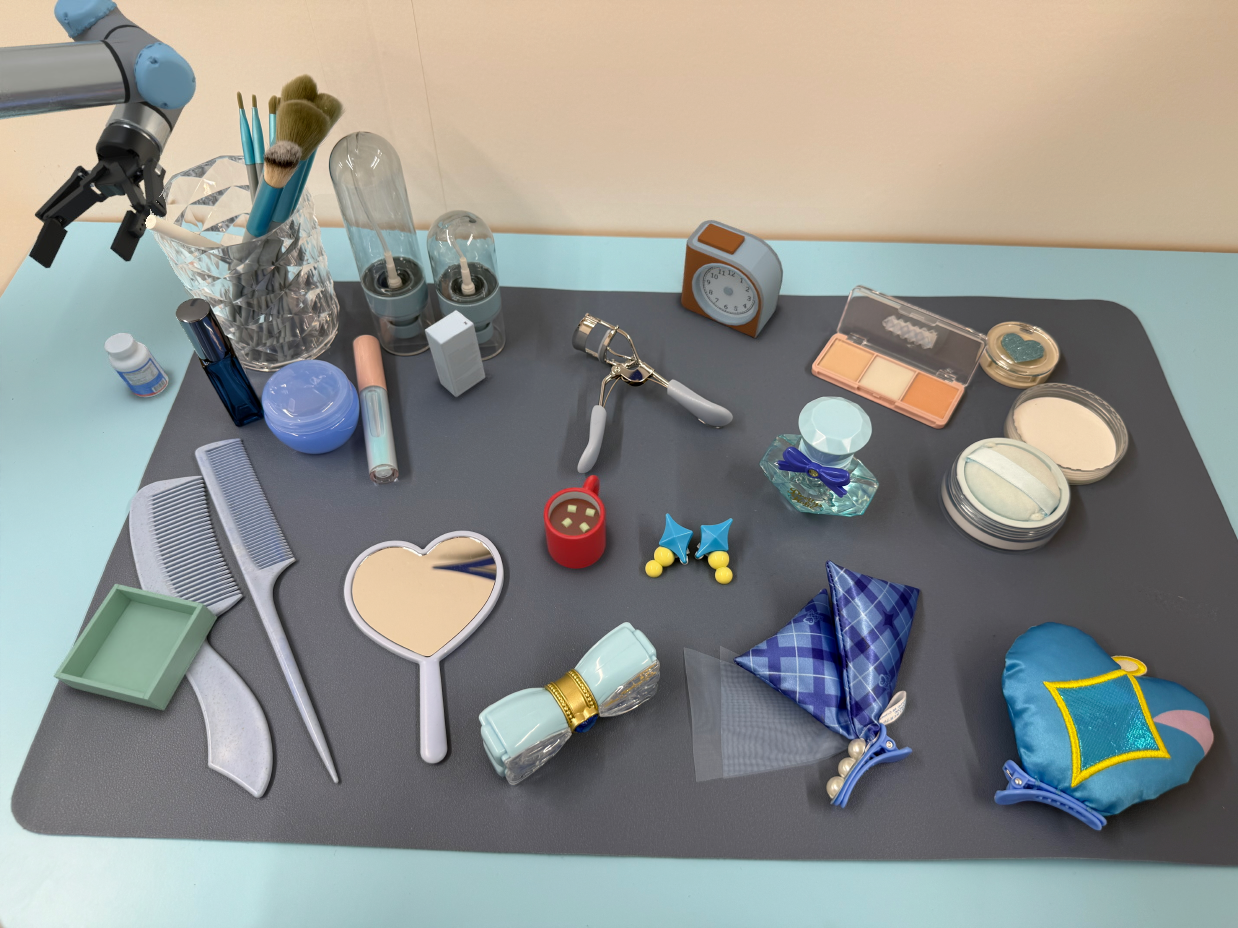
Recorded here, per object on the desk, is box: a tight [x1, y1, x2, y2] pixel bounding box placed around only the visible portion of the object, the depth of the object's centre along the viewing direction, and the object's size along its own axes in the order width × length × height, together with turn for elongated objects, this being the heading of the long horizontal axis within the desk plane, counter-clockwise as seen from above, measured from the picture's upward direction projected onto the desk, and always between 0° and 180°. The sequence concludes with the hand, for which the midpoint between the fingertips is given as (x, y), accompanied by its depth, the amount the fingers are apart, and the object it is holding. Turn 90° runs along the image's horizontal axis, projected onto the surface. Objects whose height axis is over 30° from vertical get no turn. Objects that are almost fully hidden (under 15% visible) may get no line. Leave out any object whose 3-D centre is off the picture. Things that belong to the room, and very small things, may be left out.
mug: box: [543, 474, 606, 570], centre depth 102 cm, size 8×12×8 cm, turn 164°
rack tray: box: [53, 583, 218, 712], centre depth 94 cm, size 12×12×4 cm
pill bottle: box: [103, 332, 169, 398], centre depth 116 cm, size 6×5×10 cm
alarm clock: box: [680, 219, 784, 339], centre depth 125 cm, size 15×8×14 cm, turn 58°
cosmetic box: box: [424, 309, 486, 398], centre depth 116 cm, size 6×4×12 cm
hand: (79, 258), depth 105 cm, fingers open, 13 cm apart
